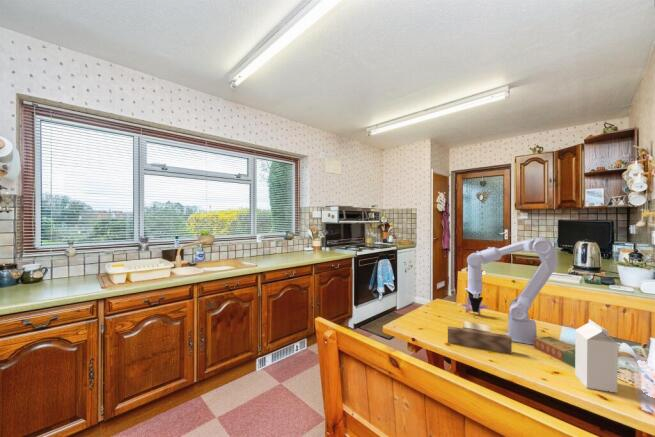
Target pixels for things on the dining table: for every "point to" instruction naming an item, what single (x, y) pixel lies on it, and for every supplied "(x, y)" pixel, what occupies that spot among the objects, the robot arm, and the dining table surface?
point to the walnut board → (480, 339)
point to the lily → (469, 307)
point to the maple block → (476, 326)
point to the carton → (556, 349)
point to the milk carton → (596, 357)
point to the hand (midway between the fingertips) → (474, 309)
